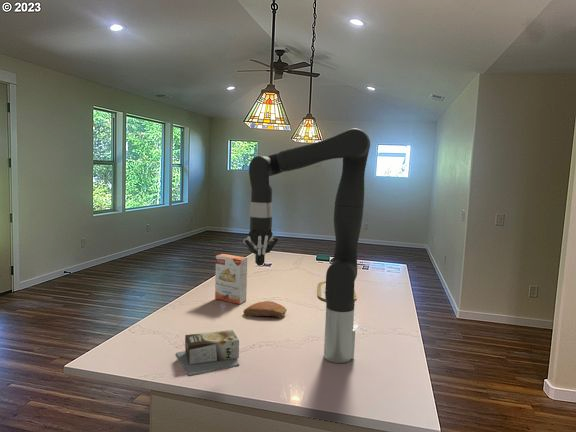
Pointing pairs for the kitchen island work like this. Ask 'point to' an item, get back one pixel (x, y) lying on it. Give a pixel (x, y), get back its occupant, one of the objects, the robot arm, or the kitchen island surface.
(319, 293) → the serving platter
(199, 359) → the coffee box
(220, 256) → the cracker box
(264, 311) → the ceramic shard
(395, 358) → the kitchen island surface
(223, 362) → the mat
